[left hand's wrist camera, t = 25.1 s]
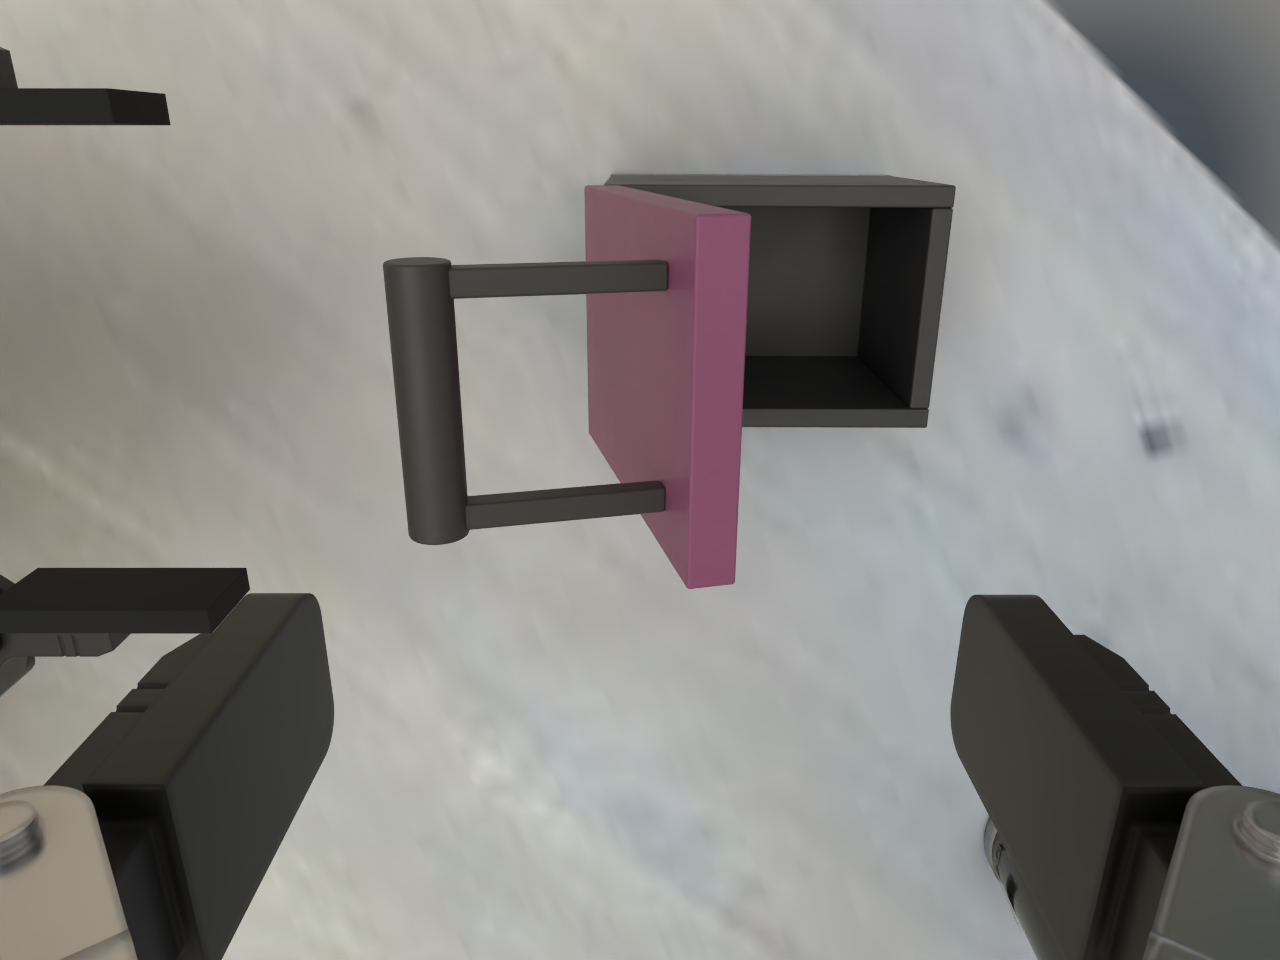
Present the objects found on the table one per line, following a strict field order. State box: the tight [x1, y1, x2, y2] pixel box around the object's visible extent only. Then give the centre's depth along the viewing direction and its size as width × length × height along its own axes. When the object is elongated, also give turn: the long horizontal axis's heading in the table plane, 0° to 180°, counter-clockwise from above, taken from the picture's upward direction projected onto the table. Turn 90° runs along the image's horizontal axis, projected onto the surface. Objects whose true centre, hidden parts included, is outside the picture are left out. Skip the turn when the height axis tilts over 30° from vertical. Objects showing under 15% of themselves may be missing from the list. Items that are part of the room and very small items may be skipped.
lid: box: [383, 185, 751, 589], centre depth 27 cm, size 13×9×8 cm
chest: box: [604, 174, 955, 428], centre depth 39 cm, size 13×9×10 cm
